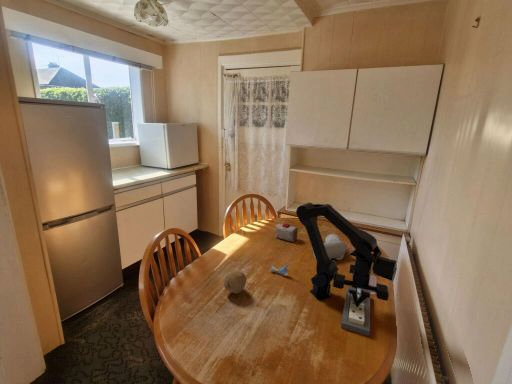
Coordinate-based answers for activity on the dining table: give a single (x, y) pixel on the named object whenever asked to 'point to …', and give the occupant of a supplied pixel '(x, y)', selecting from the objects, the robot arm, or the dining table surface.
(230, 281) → the natural sponge
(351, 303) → the three dot key
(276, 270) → the dinosaur figurine
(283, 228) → the white box
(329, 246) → the elbow connector
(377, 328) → the dining table surface
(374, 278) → the mobile phone
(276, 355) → the dining table surface
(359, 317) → the two dot key
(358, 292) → the one dot key
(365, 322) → the grey flat block
